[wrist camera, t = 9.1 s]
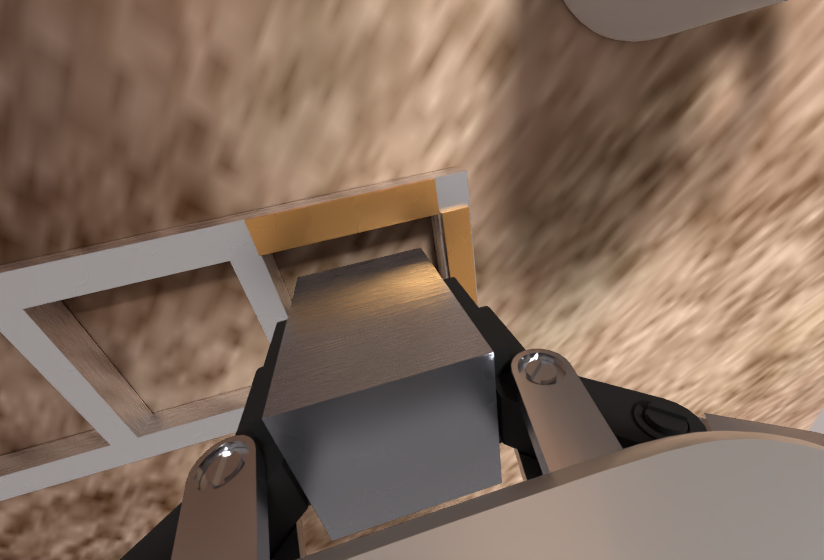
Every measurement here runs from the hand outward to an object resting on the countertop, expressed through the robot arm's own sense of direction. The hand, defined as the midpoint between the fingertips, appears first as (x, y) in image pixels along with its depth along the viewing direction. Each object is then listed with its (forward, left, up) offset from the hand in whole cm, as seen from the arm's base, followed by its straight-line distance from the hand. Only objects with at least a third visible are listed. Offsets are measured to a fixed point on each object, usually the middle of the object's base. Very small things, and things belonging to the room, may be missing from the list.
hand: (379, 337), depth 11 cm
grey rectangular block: (0, 0, -2) cm, 2 cm away
